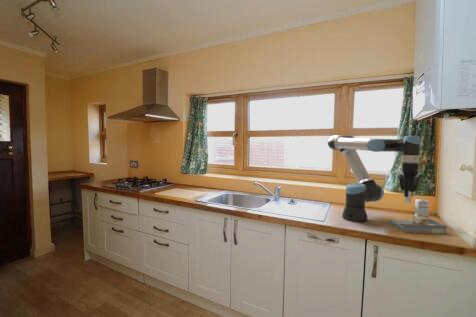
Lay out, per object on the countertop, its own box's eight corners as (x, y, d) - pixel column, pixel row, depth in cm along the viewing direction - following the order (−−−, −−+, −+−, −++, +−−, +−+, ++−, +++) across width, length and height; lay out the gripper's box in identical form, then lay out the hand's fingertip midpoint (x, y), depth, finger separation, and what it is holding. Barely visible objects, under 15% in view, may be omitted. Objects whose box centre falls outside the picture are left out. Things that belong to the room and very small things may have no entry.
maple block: (418, 227, 128) (419, 218, 128) (412, 224, 133) (412, 216, 133) (427, 227, 128) (428, 219, 128) (421, 224, 133) (421, 216, 133)
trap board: (403, 232, 127) (404, 224, 127) (388, 223, 141) (388, 216, 141) (445, 233, 126) (446, 225, 126) (426, 224, 140) (426, 217, 140)
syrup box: (428, 224, 140) (429, 201, 139) (416, 223, 143) (418, 200, 142) (424, 221, 145) (426, 199, 145) (413, 220, 148) (415, 198, 147)
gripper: (404, 162, 125) (401, 204, 127) (427, 163, 125) (424, 204, 127) (394, 161, 133) (392, 200, 134) (416, 161, 133) (413, 200, 135)
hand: (407, 202), depth 131 cm, fingers closed
